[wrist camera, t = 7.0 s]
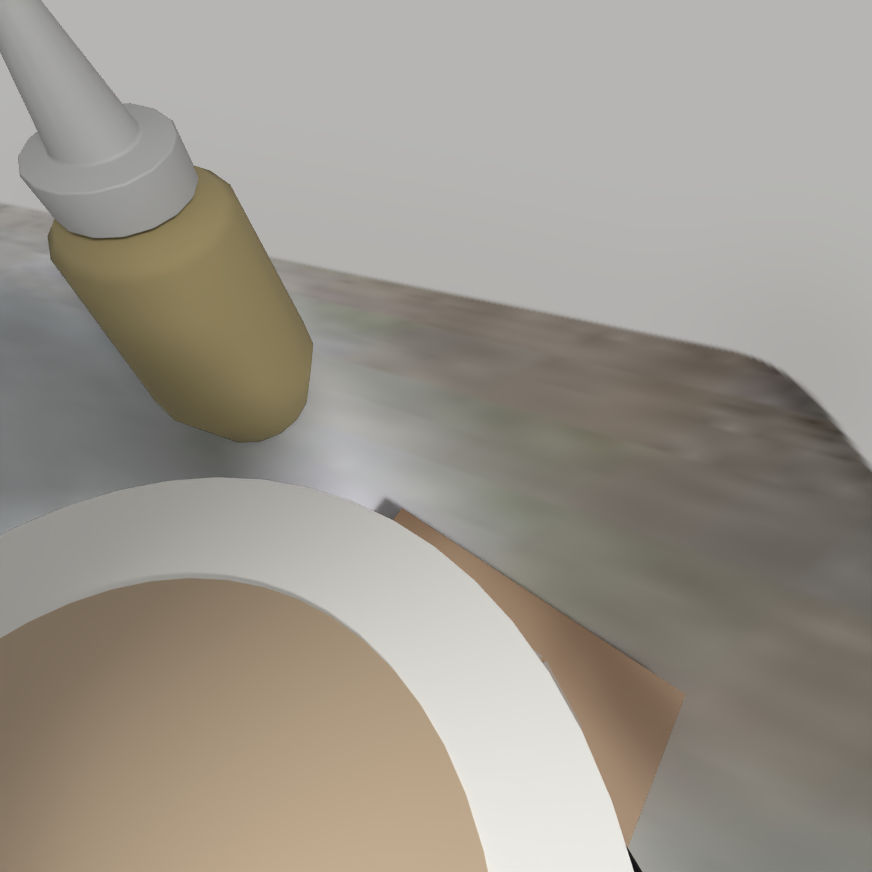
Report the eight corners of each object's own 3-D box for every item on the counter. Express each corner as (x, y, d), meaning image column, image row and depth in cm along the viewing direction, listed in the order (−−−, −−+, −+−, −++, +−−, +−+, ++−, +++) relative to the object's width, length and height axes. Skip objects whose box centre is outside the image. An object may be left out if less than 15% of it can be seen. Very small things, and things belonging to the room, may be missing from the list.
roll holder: (506, 1121, 15) (533, 1293, 11) (191, 805, 18) (119, 840, 14) (672, 694, 20) (733, 695, 16) (403, 516, 24) (396, 480, 20)
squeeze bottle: (355, 410, 27) (233, 2, 11) (222, 491, 24) (-182, 126, 9) (286, 322, 30) (110, -100, 14) (161, 387, 27) (-219, -27, 12)
